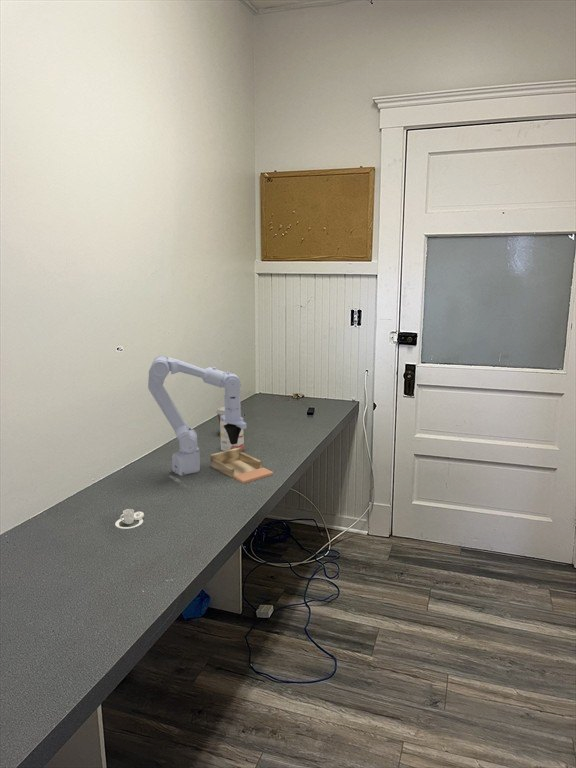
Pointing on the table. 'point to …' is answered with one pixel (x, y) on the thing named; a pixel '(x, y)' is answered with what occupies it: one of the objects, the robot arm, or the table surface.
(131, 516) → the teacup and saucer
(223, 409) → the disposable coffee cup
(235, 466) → the tray
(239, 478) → the panel
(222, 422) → the ink cartridge box
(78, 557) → the table surface
